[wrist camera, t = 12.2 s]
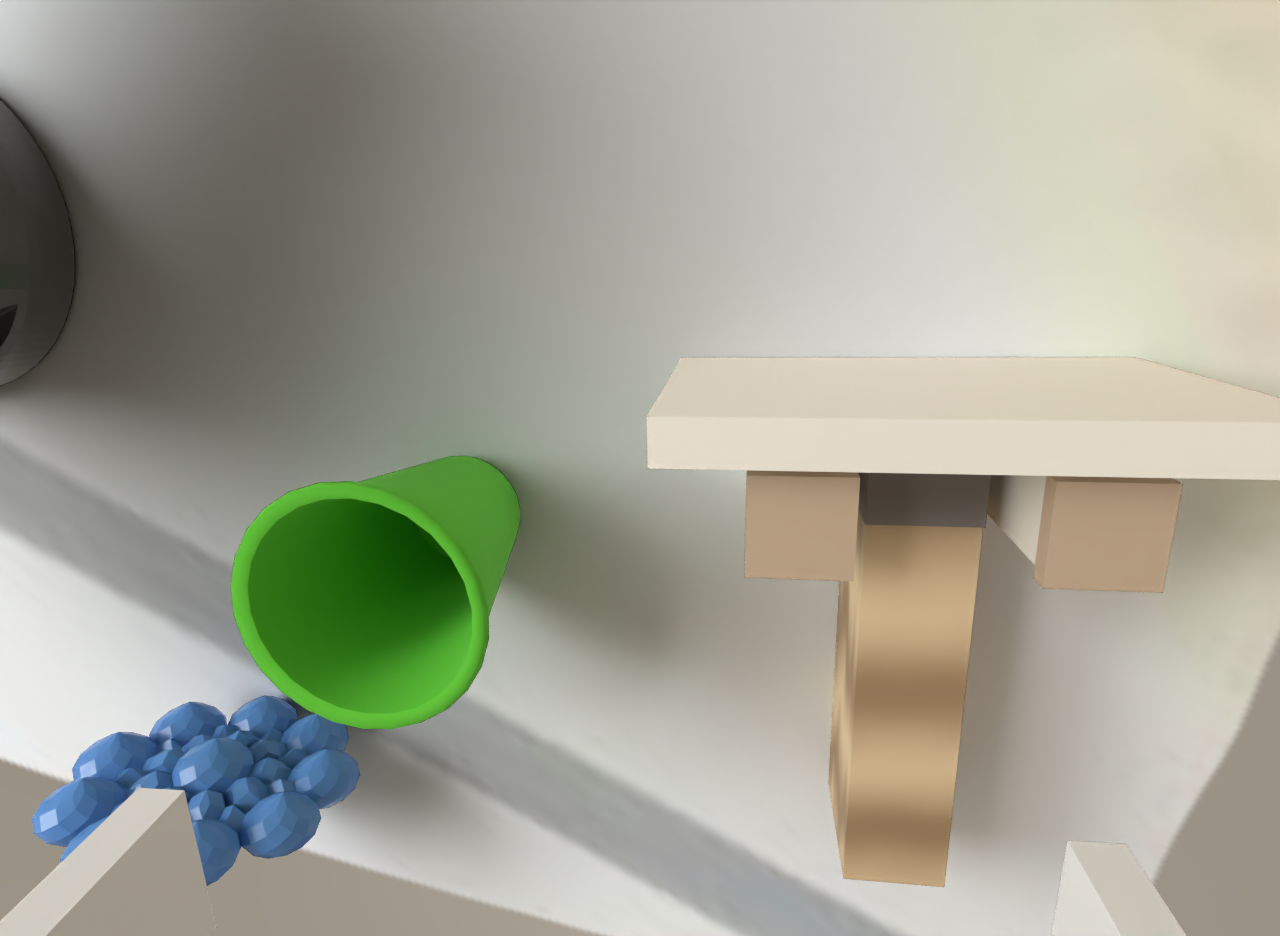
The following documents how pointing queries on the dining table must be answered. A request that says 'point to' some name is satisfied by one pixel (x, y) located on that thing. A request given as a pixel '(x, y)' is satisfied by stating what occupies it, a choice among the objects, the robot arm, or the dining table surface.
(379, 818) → the dining table surface
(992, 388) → the headboard
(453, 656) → the cup
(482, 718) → the dining table surface
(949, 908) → the dining table surface
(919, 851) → the block
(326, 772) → the grapes
